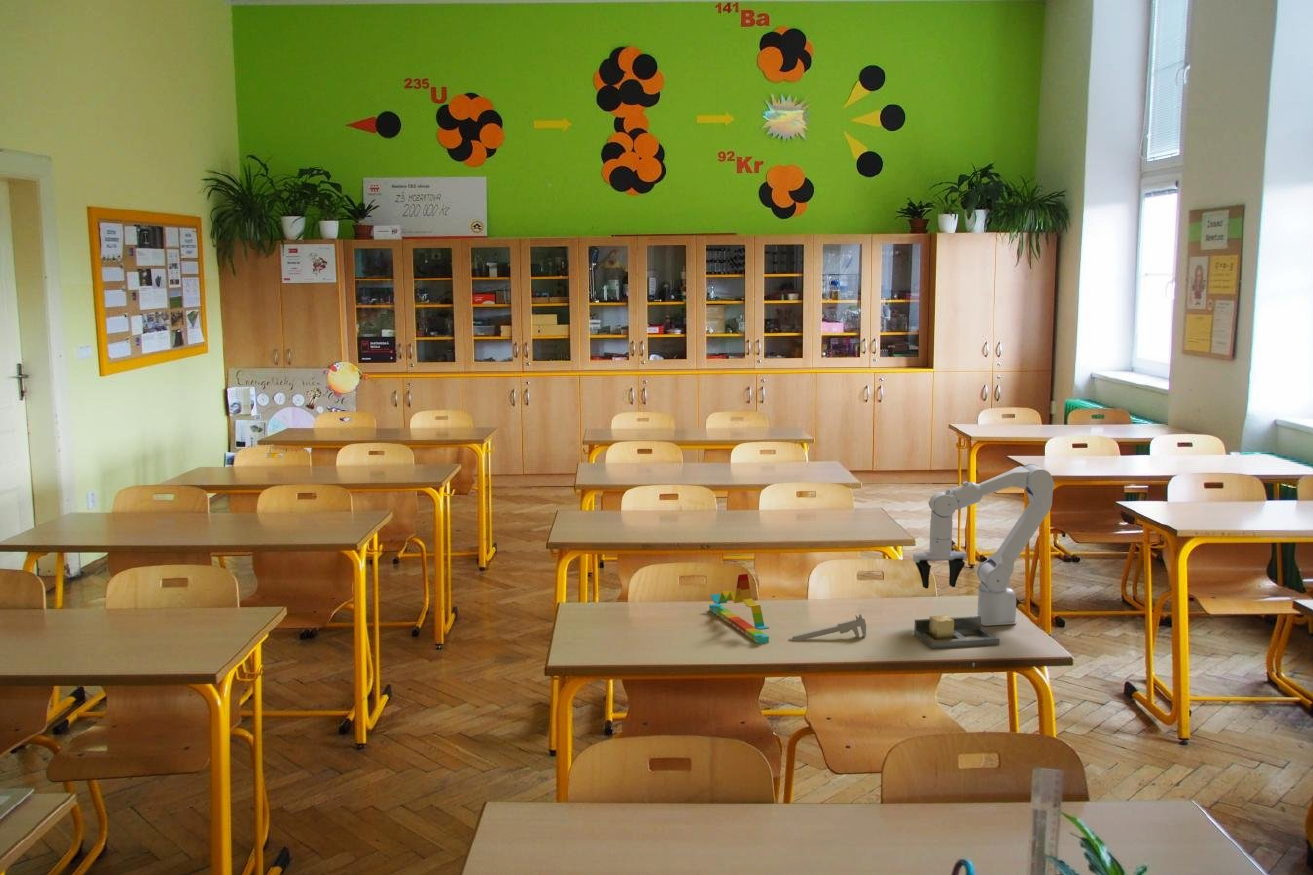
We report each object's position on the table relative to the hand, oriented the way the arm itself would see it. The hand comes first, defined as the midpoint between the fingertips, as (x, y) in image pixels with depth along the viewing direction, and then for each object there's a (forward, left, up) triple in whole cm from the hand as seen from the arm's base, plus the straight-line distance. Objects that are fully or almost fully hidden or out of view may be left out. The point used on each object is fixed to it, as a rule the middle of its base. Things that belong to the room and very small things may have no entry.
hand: (938, 586), depth 295 cm
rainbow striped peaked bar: (+54, -5, -10) cm, 56 cm away
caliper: (+34, +9, -10) cm, 37 cm away
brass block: (+6, +16, -10) cm, 19 cm away
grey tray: (+2, +16, -9) cm, 19 cm away
